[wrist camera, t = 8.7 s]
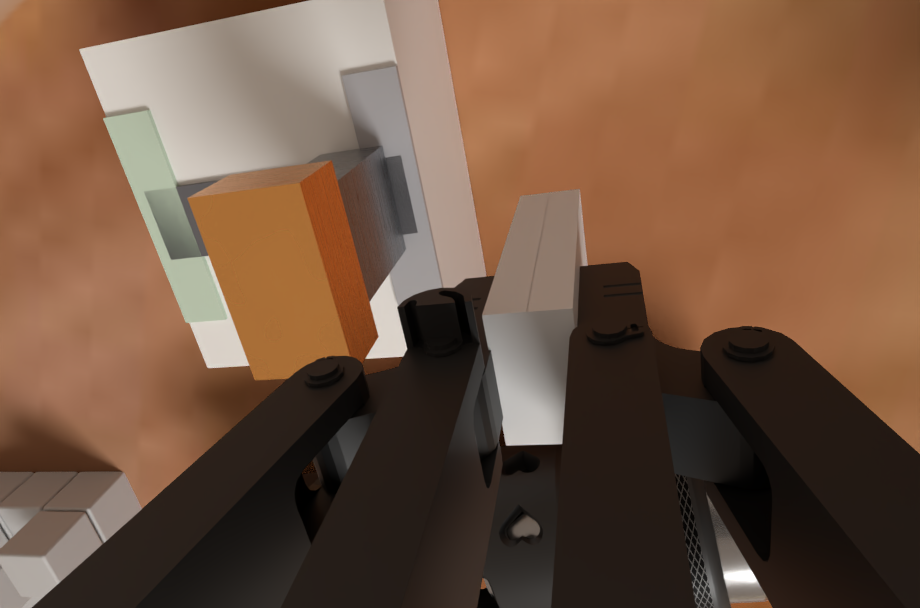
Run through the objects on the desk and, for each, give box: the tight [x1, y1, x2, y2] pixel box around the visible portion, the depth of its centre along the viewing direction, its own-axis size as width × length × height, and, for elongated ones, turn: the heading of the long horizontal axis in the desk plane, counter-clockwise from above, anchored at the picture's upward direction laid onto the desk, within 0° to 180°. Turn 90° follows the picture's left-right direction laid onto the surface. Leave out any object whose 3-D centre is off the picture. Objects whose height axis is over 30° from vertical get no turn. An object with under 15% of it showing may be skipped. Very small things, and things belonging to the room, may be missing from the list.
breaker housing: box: [79, 0, 486, 368], centre depth 29 cm, size 12×14×8 cm
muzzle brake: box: [302, 444, 768, 608], centre depth 35 cm, size 10×28×10 cm, turn 109°
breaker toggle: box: [187, 145, 406, 380], centre depth 21 cm, size 3×6×8 cm, turn 10°
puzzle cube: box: [0, 472, 142, 608], centre depth 47 cm, size 12×12×8 cm
